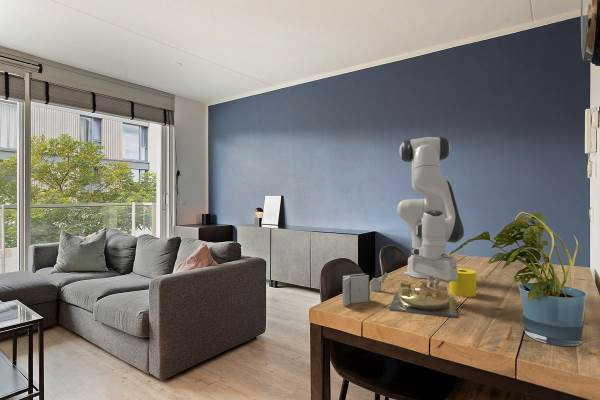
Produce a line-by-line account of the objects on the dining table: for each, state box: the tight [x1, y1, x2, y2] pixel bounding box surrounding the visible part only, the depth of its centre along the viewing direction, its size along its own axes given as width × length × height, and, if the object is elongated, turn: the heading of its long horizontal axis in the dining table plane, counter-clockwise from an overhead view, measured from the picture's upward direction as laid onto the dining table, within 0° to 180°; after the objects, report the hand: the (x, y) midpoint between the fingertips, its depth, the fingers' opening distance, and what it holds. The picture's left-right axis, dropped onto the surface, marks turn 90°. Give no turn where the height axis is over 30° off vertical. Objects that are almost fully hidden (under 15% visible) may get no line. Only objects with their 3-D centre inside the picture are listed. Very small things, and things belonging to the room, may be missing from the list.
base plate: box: [389, 291, 458, 319], centre depth 130 cm, size 22×22×1 cm
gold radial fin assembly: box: [397, 280, 450, 310], centre depth 130 cm, size 18×18×6 cm
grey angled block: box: [370, 272, 389, 292], centre depth 149 cm, size 7×2×8 cm, turn 68°
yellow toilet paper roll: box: [449, 267, 477, 298], centre depth 144 cm, size 10×10×9 cm
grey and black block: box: [342, 273, 371, 308], centre depth 134 cm, size 14×5×10 cm, turn 124°
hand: (433, 287), depth 135 cm, fingers closed
